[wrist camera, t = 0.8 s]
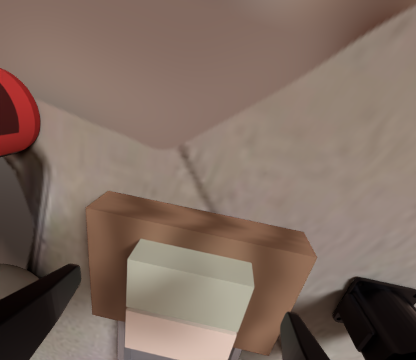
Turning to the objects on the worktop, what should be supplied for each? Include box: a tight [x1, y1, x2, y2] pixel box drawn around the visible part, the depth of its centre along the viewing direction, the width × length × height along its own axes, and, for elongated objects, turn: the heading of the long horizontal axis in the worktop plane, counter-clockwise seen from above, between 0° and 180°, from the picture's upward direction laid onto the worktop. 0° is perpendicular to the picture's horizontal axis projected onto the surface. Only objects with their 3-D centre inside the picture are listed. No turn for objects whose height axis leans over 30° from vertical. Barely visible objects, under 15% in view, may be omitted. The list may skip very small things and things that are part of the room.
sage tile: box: [126, 239, 254, 332], centre depth 18 cm, size 10×6×2 cm, turn 80°
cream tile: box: [125, 307, 237, 360], centre depth 20 cm, size 10×6×2 cm, turn 79°
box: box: [118, 321, 242, 360], centre depth 27 cm, size 15×15×3 cm
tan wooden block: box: [86, 191, 317, 356], centre depth 22 cm, size 20×14×4 cm
